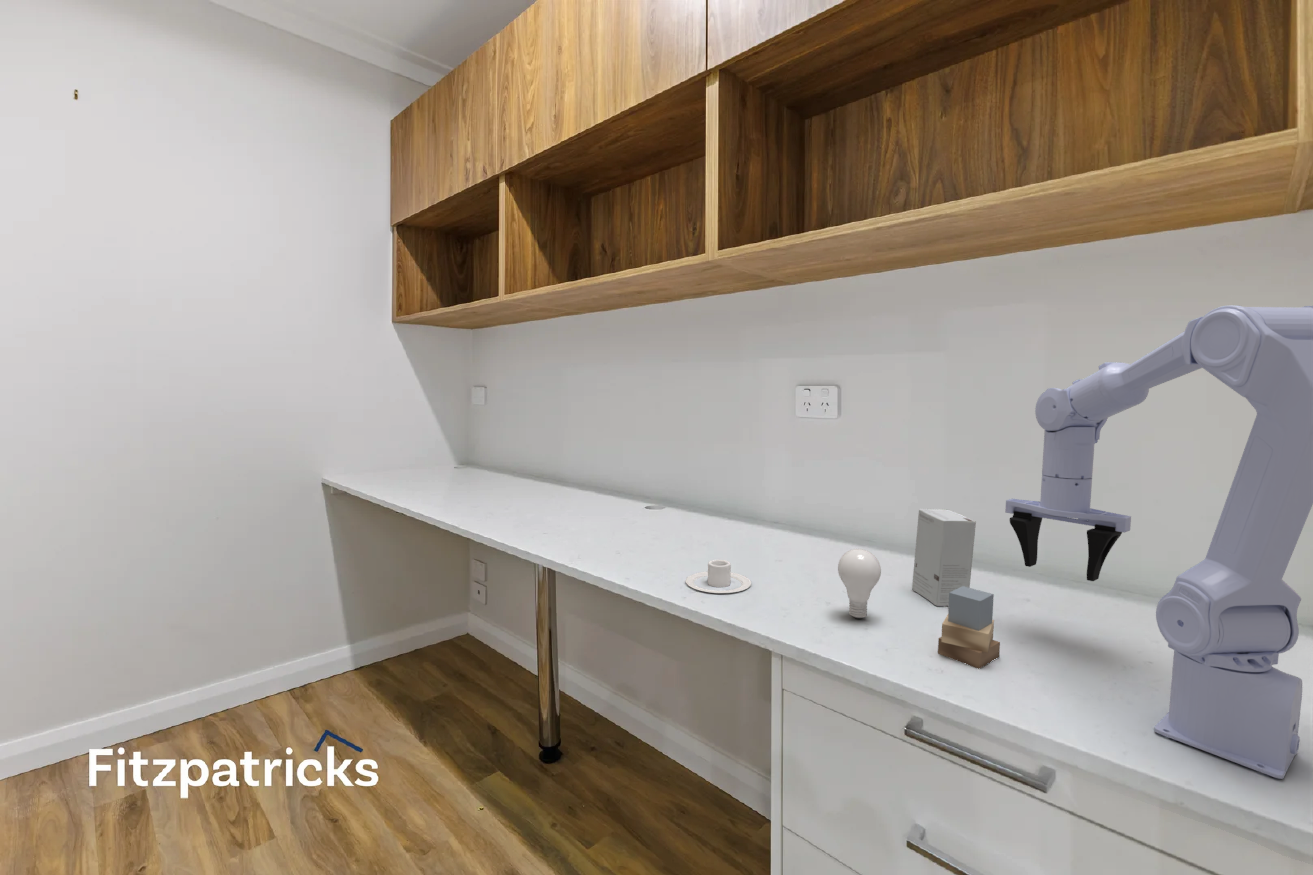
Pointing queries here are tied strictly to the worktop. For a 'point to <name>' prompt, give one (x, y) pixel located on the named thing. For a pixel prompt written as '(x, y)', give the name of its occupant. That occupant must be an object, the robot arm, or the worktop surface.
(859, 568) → the lightbulb
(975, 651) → the lower tile
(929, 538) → the skincare box
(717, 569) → the candle holder
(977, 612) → the cube
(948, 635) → the upper tile
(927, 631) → the worktop surface
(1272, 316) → the robot arm
